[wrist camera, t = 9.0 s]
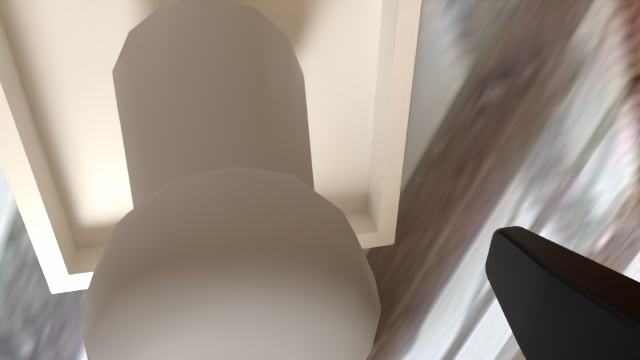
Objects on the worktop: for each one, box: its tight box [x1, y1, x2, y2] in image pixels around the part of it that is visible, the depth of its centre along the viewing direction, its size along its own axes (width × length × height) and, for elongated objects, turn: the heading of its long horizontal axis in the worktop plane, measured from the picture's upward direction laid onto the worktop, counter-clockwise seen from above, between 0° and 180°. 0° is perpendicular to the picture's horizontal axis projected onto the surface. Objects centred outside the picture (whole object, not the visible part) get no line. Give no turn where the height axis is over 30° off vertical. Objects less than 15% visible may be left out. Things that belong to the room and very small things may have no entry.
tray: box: [0, 0, 422, 294], centre depth 17 cm, size 16×14×2 cm
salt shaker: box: [83, 0, 381, 360], centre depth 12 cm, size 6×6×13 cm
